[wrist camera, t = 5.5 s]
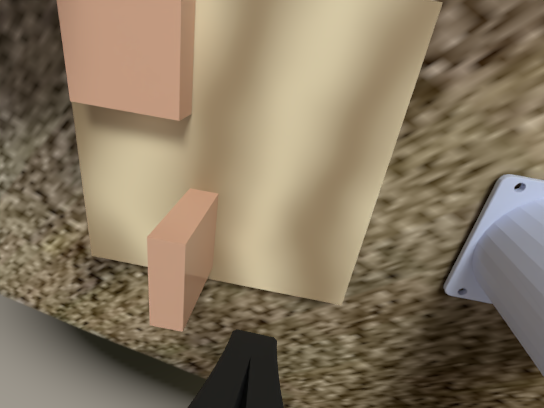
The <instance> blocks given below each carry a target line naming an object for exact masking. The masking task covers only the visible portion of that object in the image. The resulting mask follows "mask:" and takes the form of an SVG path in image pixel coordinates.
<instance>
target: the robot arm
mask: <svg viewBox="0 0 544 408" xmlns="http://www.w3.org/2000/svg"><path fill="white" fill-rule="evenodd" d="M518 183H521V186H520V187H519V188H517V189H514V187H515V186H516V185H517V184H518ZM443 288H444V290H445V292H446V294H448V295H450V296H454V297H459V298H465V299H470V300H475V301H480V302H485V303H490V304H493V305H494V306H495V308H496V309H497V310H498V312H499V313H500V315H501V316H502V318H503V319H504V320H505V322H506V323H507V325H508V326H509V328H510V329H511V331H512V332H513V333H514V335H515V336H516V338H517V339H518V341H519V342H520V343H521V345H522V346H523V348H524V349H525V351H526V352H527V353H528V355H529V356H530V358H531V359H532V361H533V362H534V363H535V365H536V366H537V368H538V369H539V371H540V372H541V373H542V375H543V376H544V180H540V179H534V178H529V177H523V176H517V175H512V174H506V175H503V176H502V177H500V178H499V179H498V180H497V182H496V184H495V186H494V188H493V190H492V192H491V193H490V195H489V197H488V199H487V201H486V203H485V205H484V207H483V209H482V211H481V213H480V215H479V217H478V219H477V221H476V223H475V225H474V227H473V229H472V231H471V233H470V235H469V237H468V238H467V240H466V242H465V244H464V246H463V248H462V250H461V252H460V254H459V256H458V258H457V260H456V262H455V264H454V266H453V268H452V270H451V272H450V274H449V276H448V278H447V280H446V282H445V284H444V286H443ZM462 288H464V289H463V290H461V291H458V290H459V289H462ZM188 408H284V407H283V402H282V396H281V390H280V383H279V374H278V365H277V341H276V339H275V338H274V337H269V336H265V335H260V334H255V333H251V332H246V331H242V330H235V331H233V332H232V335H231V338H230V340H229V342H228V344H227V346H226V348H225V350H224V352H223V354H222V356H221V357H220V359H219V361H218V362H217V364H216V366H215V368H214V369H213V371H212V372H211V374H210V375H209V377H208V379H207V380H206V382H205V383H204V385H203V387H202V388H201V389H200V391H199V393H198V394H197V395H196V397H195V398H194V400H193V401H192V402H191V404H190V405H189V406H188Z"/></svg>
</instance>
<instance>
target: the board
mask: <svg viewBox="0 0 544 408" xmlns="http://www.w3.org/2000/svg"><path fill="white" fill-rule="evenodd" d="M441 6H442V2H436V1H430V0H195V29H194V58H193V87H192V114H191V115H189V116H187V117H185V118H184V119H182V120H180V121H177V120H172V119H166V118H160V117H155V116H149V115H144V114H138V113H133V112H127V111H122V110H116V109H110V108H105V107H99V106H94V105H88V104H83V103H77V102H72V101H71V102H72V109H73V117H74V124H75V132H76V139H77V147H78V155H79V162H80V170H81V177H82V185H83V193H84V200H85V208H86V215H87V223H88V230H89V238H90V246H91V253H92V256H96V257H101V258H106V259H111V260H116V261H121V262H126V263H131V264H136V265H141V266H146V267H148V255H147V236H148V235H149V234H150V233H151V232H152V231H153V230H154V228H155V227H156V226H157V225H158V224H159V223H160V222H161V220H162V219H163V218H164V217H165V216H166V215H167V214H168V213H169V211H170V210H171V209H172V208H173V207H174V206H175V205H176V203H177V202H178V201H179V200H180V199H181V198H182V197H183V195H184V194H185V193H186V192H187V191H188V190H189V189H190V188H191V189H197V190H202V191H207V192H213V193H218V194H219V195H218V208H217V220H216V232H215V245H214V257H213V267H212V269H211V272H210V274H209V276H208V278H207V279H212V280H217V281H222V282H227V283H232V284H237V285H242V286H247V287H252V288H257V289H262V290H267V291H272V292H277V293H282V294H287V295H292V296H297V297H302V298H308V299H313V300H318V301H323V302H328V303H333V304H338V305H342V302H343V299H344V296H345V293H346V290H347V287H348V284H349V281H350V278H351V275H352V272H353V269H354V266H355V263H356V260H357V257H358V254H359V251H360V248H361V245H362V242H363V239H364V236H365V233H366V230H367V227H368V224H369V221H370V218H371V215H372V212H373V210H374V207H375V204H376V201H377V198H378V195H379V192H380V189H381V186H382V183H383V180H384V177H385V174H386V171H387V168H388V165H389V162H390V159H391V156H392V153H393V150H394V147H395V144H396V141H397V138H398V135H399V132H400V129H401V126H402V123H403V120H404V117H405V114H406V111H407V108H408V105H409V102H410V99H411V96H412V93H413V90H414V87H415V84H416V81H417V78H418V75H419V72H420V69H421V66H422V63H423V60H424V57H425V54H426V51H427V48H428V45H429V42H430V39H431V36H432V33H433V30H434V27H435V24H436V21H437V18H438V15H439V12H440V9H441Z"/></svg>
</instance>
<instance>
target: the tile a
mask: <svg viewBox="0 0 544 408" xmlns="http://www.w3.org/2000/svg"><path fill="white" fill-rule="evenodd" d="M57 7H58V14H59V21H60V29H61V36H62V44H63V51H64V59H65V66H66V74H67V81H68V89H69V96H70V101H72V102H77V103H83V104H88V105H94V106H99V107H105V108H110V109H116V110H122V111H127V112H133V113H138V114H144V115H149V116H155V117H160V118H166V119H172V120H177V121H180V120H182V119H184V118H185V117H187V116H189V115H191V114H192V87H193V58H194V29H195V0H57Z"/></svg>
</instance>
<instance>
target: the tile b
mask: <svg viewBox="0 0 544 408" xmlns="http://www.w3.org/2000/svg"><path fill="white" fill-rule="evenodd" d="M218 195H219V194H218V193H213V192H207V191H202V190H197V189H191V188H190V189H189V190H188V191H187V192H186V193H185V194H184V195H183V197H182V198H181V199H180V200H179V201H178V202H177V203H176V205H175V206H174V207H173V208H172V209H171V210H170V211H169V213H168V214H167V215H166V216H165V217H164V218H163V219H162V220H161V222H160V223H159V224H158V225H157V226H156V227H155V228H154V230H153V231H152V232H151V233H150V234H149V235H148V236H147V255H148V284H149V313H150V325H152V326H157V327H162V328H167V329H172V330H176V331H181V332H183V330H184V328H185V326H186V324H187V322H188V319H189V317H190V315H191V313H192V311H193V308H194V306H195V304H196V302H197V300H198V298H199V295H200V293H201V291H202V289H203V287H204V285H205V282H206V280H207V278H208V276H209V274H210V272H211V269H212V267H213V257H214V245H215V232H216V220H217V208H218Z"/></svg>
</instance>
